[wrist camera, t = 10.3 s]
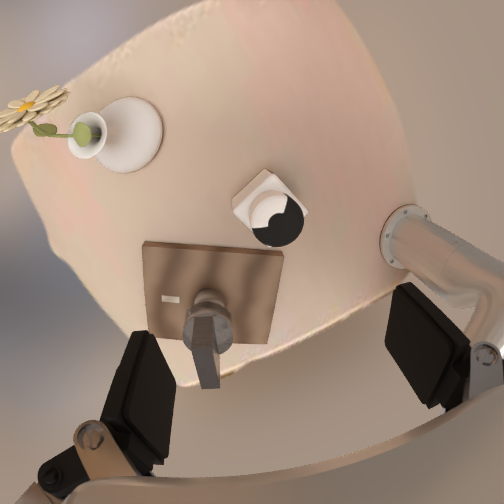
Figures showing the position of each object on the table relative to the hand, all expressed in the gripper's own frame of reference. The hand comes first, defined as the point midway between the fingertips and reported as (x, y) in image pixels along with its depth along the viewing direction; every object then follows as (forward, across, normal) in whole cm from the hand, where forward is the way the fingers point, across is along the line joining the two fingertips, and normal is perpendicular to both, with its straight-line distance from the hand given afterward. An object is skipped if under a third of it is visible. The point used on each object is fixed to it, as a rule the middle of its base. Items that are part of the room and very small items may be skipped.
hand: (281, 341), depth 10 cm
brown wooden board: (+33, +8, +17) cm, 38 cm away
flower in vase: (+33, +16, -12) cm, 38 cm away
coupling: (+25, +8, +18) cm, 32 cm away
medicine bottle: (+33, -3, +2) cm, 33 cm away
